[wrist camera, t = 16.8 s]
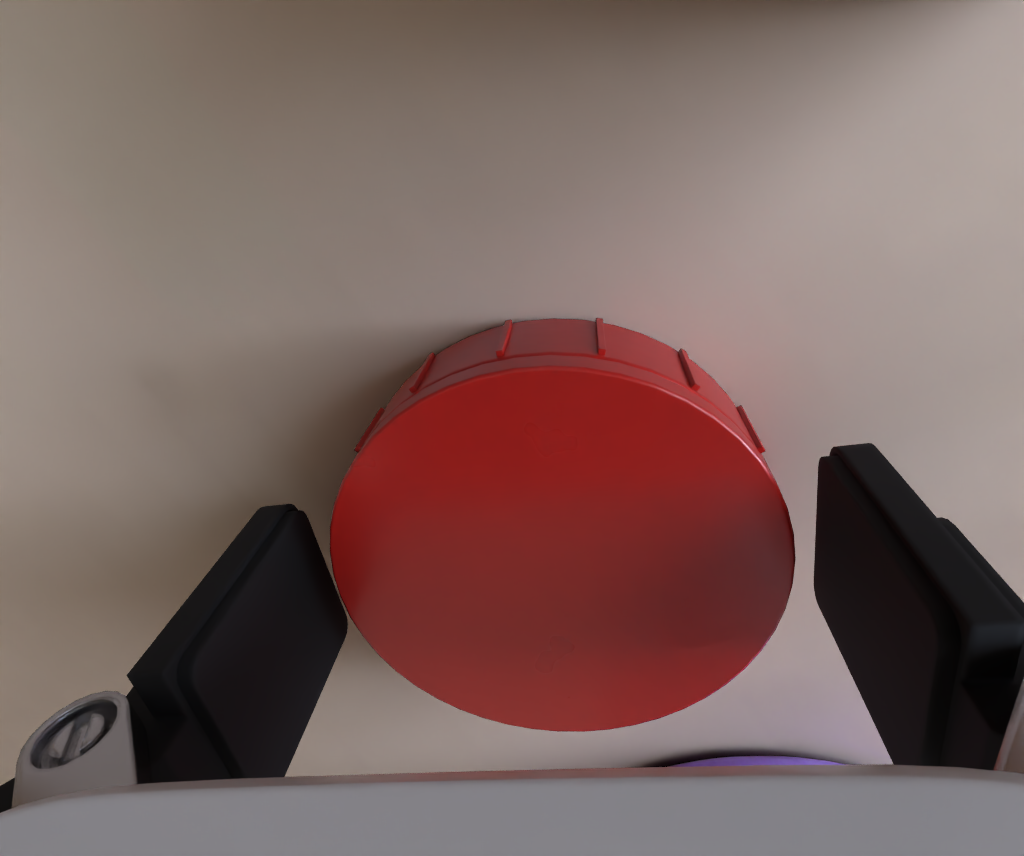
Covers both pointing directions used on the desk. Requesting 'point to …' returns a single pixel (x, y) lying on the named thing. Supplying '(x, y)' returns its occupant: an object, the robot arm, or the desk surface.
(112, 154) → the desk surface
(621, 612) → the lid
